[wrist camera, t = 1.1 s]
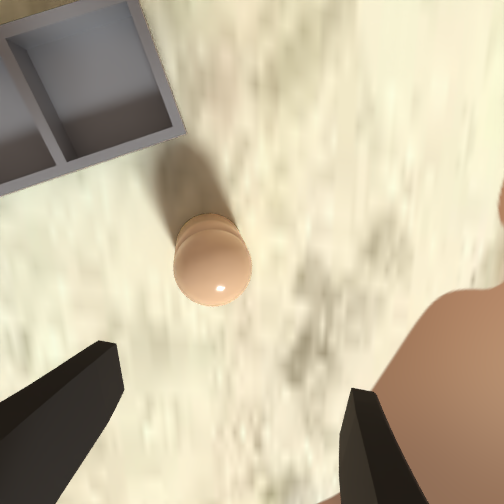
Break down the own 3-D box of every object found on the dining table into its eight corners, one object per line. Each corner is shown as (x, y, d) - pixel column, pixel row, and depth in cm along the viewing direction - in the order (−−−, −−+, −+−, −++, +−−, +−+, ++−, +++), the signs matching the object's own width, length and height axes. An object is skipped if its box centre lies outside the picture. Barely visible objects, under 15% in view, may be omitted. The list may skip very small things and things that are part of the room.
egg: (190, 283, 23) (190, 332, 17) (166, 226, 21) (157, 258, 16) (249, 262, 23) (268, 303, 17) (229, 204, 22) (243, 228, 16)
